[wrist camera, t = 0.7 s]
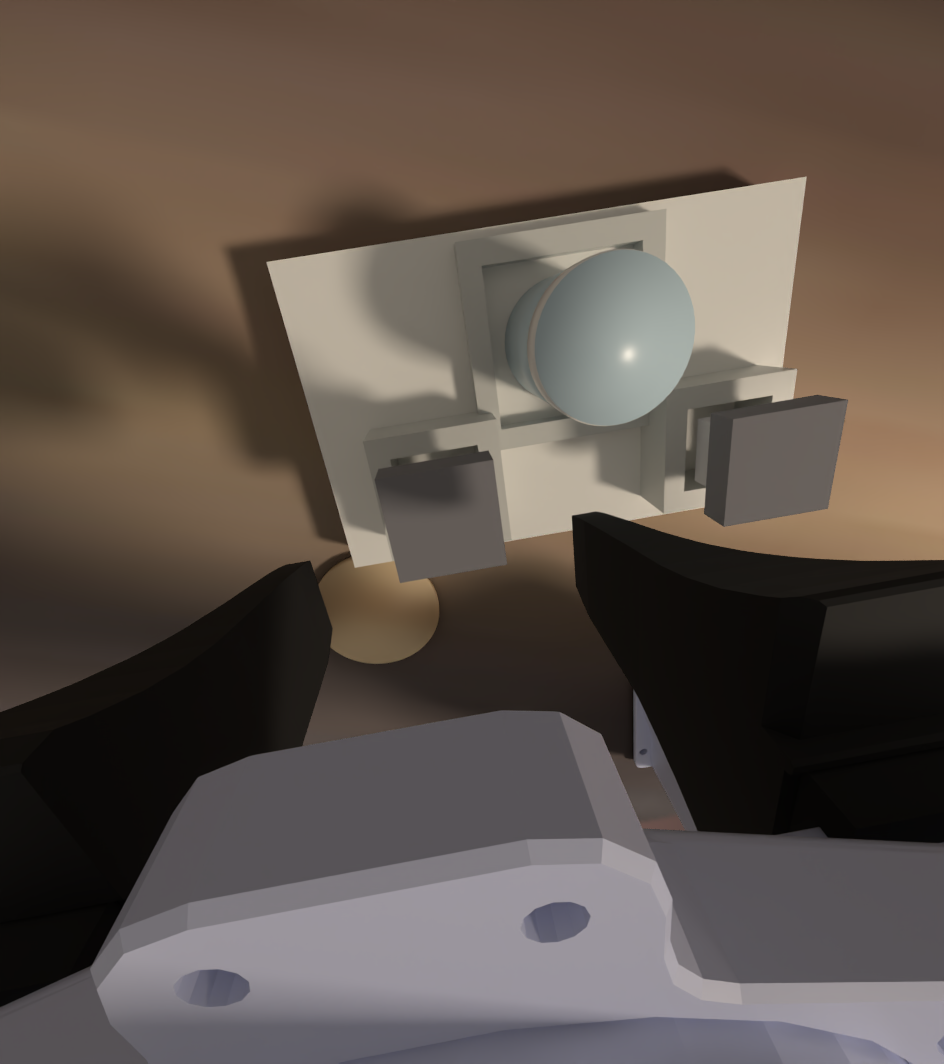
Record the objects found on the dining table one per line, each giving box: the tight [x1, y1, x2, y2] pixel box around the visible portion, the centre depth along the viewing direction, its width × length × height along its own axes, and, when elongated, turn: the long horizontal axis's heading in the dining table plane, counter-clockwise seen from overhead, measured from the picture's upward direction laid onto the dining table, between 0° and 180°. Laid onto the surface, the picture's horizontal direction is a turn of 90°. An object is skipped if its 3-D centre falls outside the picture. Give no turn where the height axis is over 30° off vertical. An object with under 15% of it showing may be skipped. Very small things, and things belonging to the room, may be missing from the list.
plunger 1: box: [375, 451, 507, 583], centre depth 16 cm, size 4×4×3 cm
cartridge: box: [505, 249, 695, 426], centre depth 15 cm, size 4×4×6 cm
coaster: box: [318, 557, 439, 664], centre depth 23 cm, size 6×6×1 cm
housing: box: [267, 177, 806, 568], centre depth 18 cm, size 12×19×4 cm, turn 98°
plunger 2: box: [695, 395, 848, 527], centre depth 16 cm, size 4×4×3 cm
